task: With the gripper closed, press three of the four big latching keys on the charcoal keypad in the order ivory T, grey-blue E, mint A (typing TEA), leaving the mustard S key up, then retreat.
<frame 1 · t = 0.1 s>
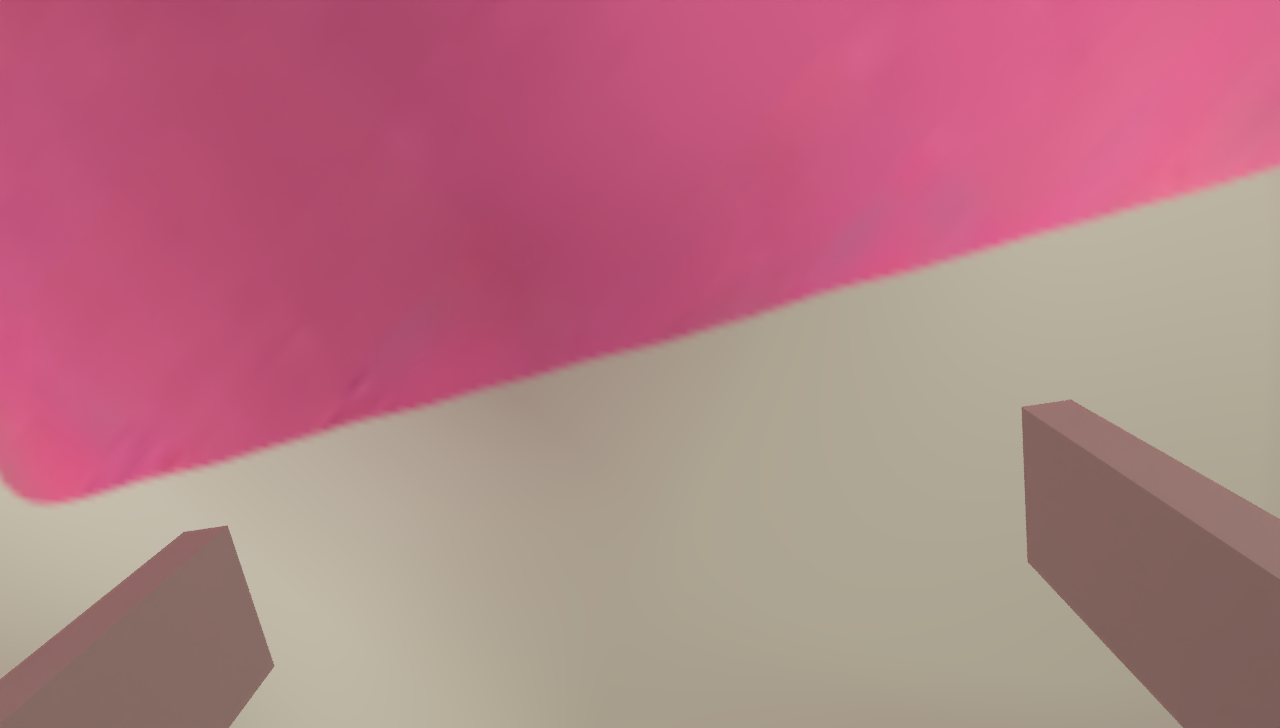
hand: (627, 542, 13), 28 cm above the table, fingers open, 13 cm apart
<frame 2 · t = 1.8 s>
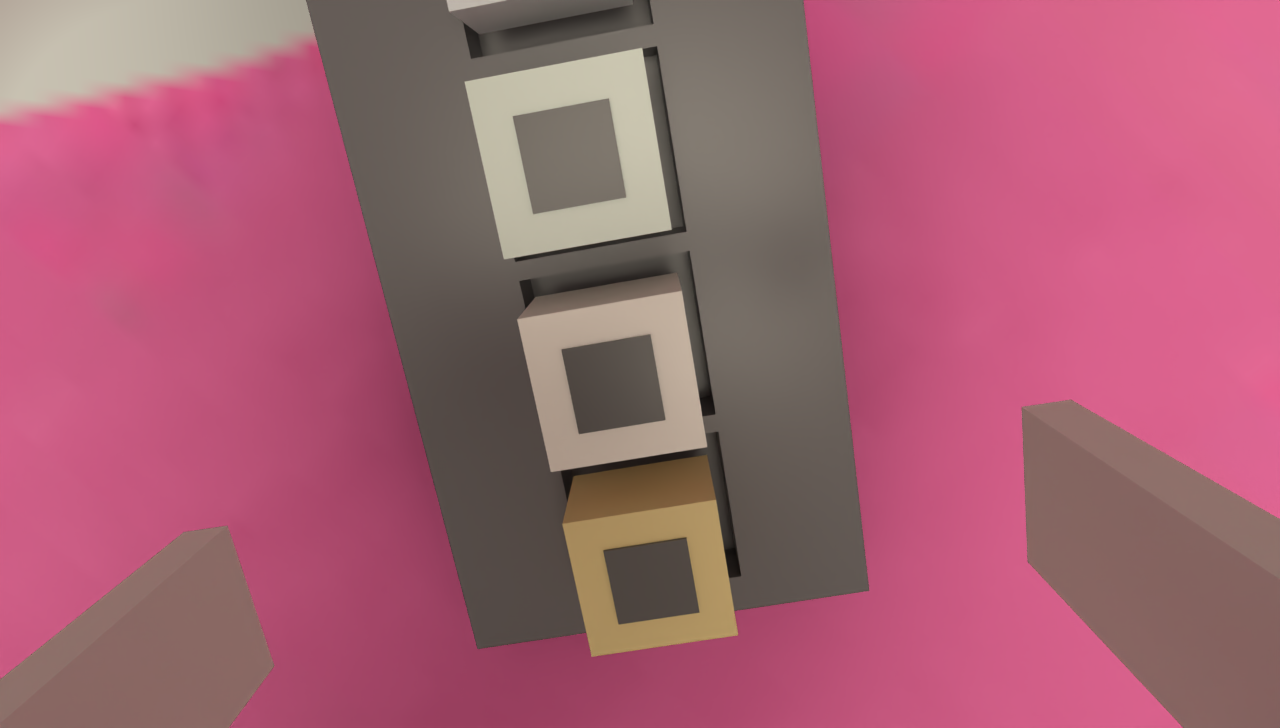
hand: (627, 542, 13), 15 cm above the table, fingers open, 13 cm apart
key S: (651, 552, 24), point 5 cm above the table, slide at 0.0 cm
keypad: (606, 247, 26), on the table
key A: (576, 157, 21), point 5 cm above the table, slide at 0.0 cm
key T: (616, 368, 22), point 5 cm above the table, slide at 0.0 cm
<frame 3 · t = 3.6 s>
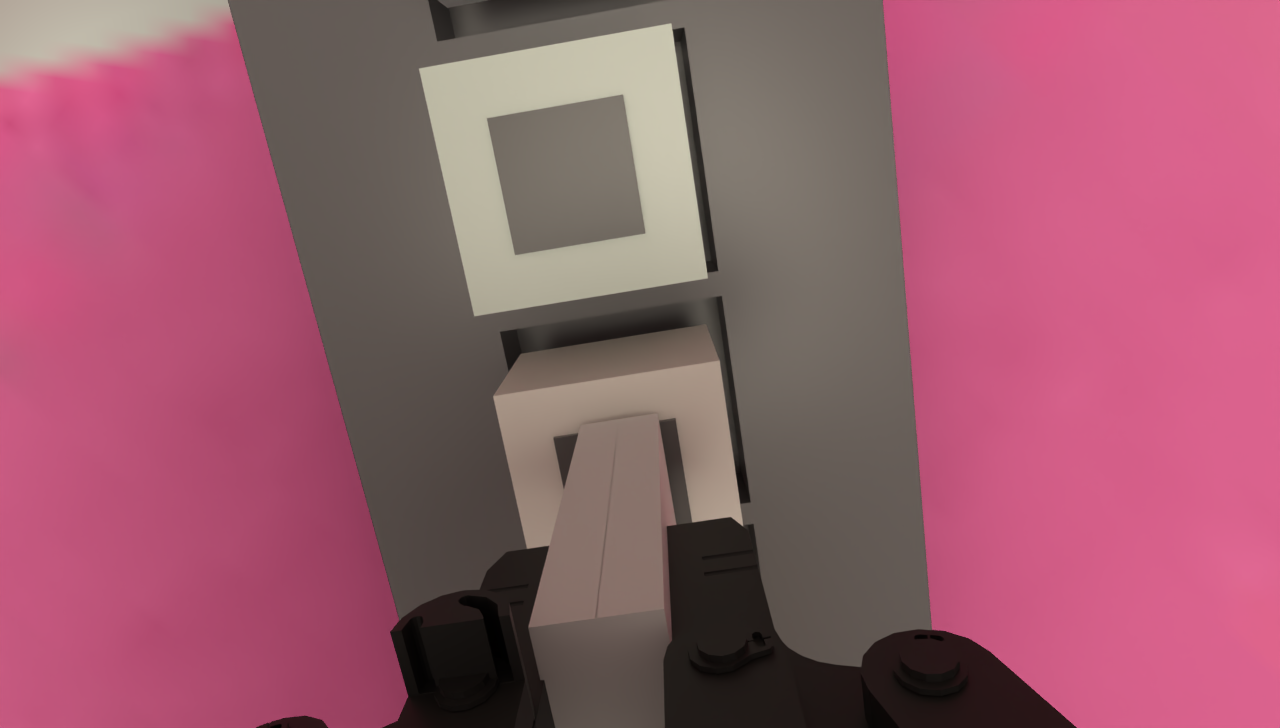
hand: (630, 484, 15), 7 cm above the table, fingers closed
keypad: (612, 285, 21), on the table
key A: (576, 175, 15), point 5 cm above the table, slide at 0.0 cm
key T: (626, 453, 17), point 5 cm above the table, slide at 0.1 cm, touching gripper
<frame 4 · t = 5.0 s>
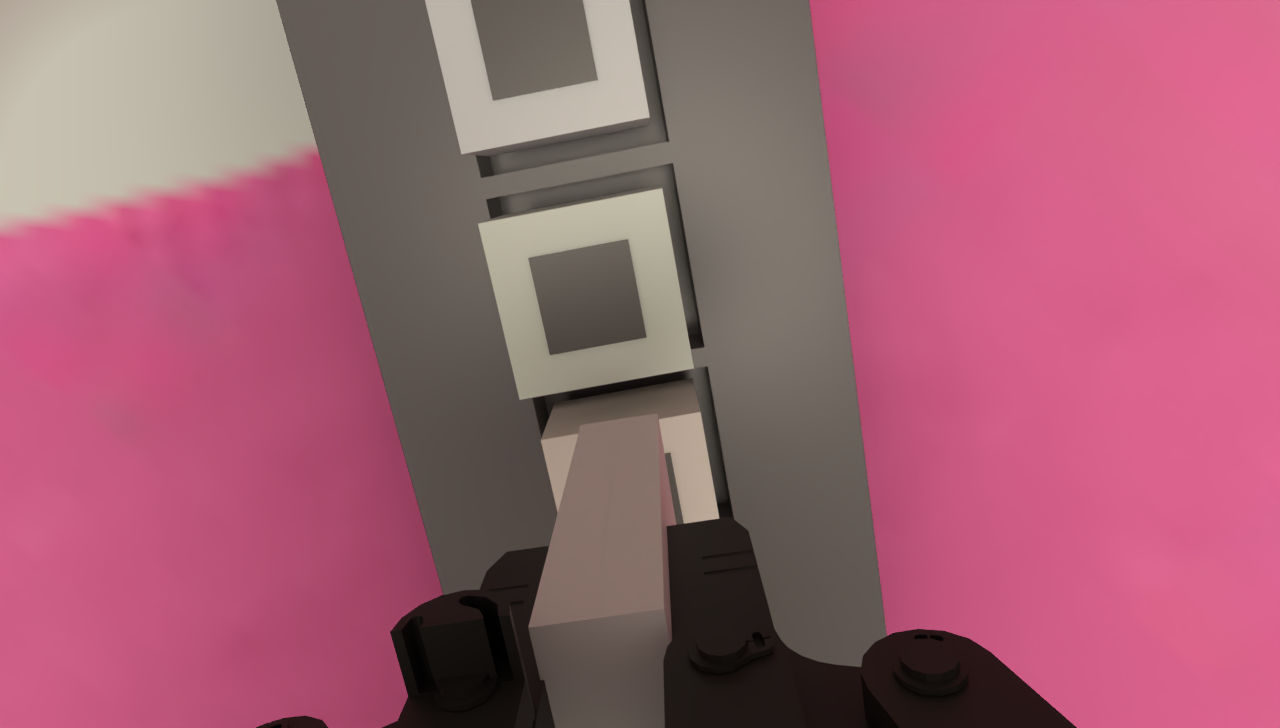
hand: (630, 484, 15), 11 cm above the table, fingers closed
key E: (543, 45, 19), point 5 cm above the table, slide at 0.0 cm
keypad: (619, 353, 25), on the table
key A: (592, 287, 20), point 5 cm above the table, slide at 0.0 cm
key T: (635, 476, 23), point 3 cm above the table, slide at 1.4 cm
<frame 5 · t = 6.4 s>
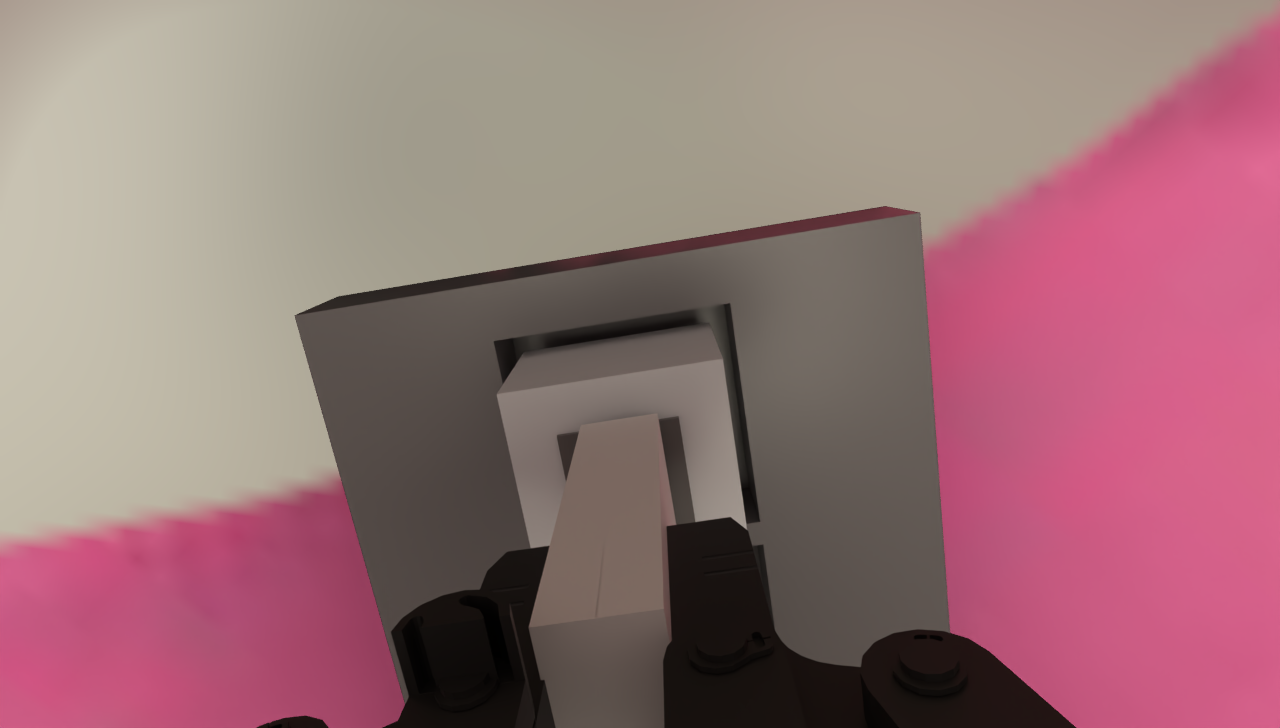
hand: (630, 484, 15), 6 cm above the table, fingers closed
key E: (629, 451, 17), point 4 cm above the table, slide at 1.3 cm, touching gripper
keypad: (683, 689, 23), on the table
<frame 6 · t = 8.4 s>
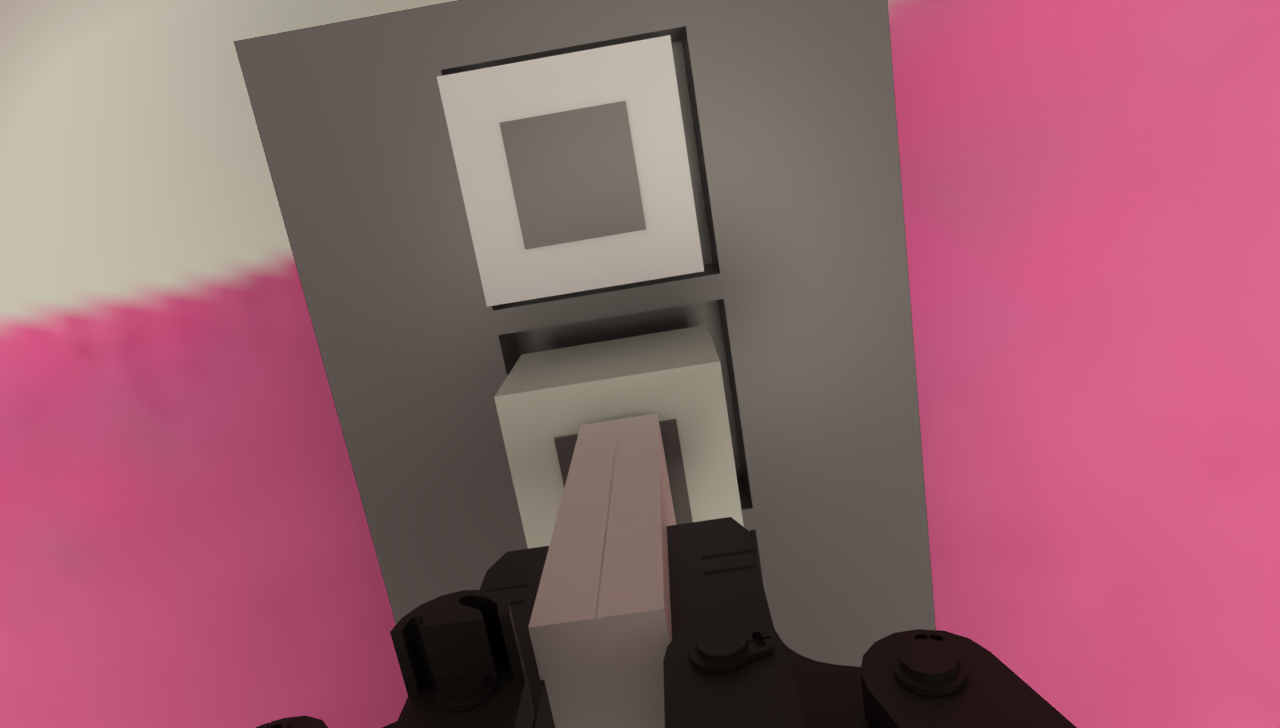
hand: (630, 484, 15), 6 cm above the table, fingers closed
key E: (581, 175, 16), point 3 cm above the table, slide at 1.4 cm
keypad: (648, 493, 22), on the table
key A: (627, 453, 17), point 4 cm above the table, slide at 0.4 cm, touching gripper
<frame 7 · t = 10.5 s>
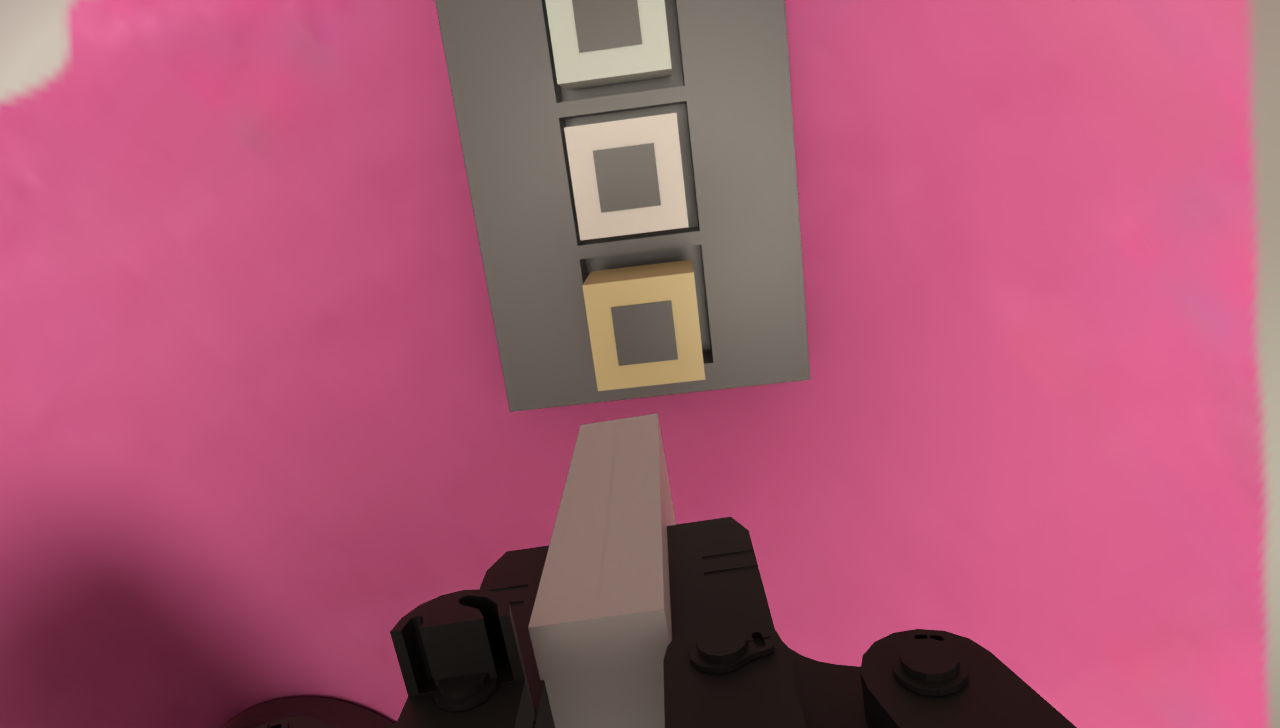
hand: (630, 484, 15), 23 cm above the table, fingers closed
key S: (645, 323, 32), point 5 cm above the table, slide at 0.0 cm
keypad: (624, 104, 34), on the table
key A: (609, 20, 30), point 3 cm above the table, slide at 1.4 cm
key T: (629, 176, 32), point 3 cm above the table, slide at 1.4 cm
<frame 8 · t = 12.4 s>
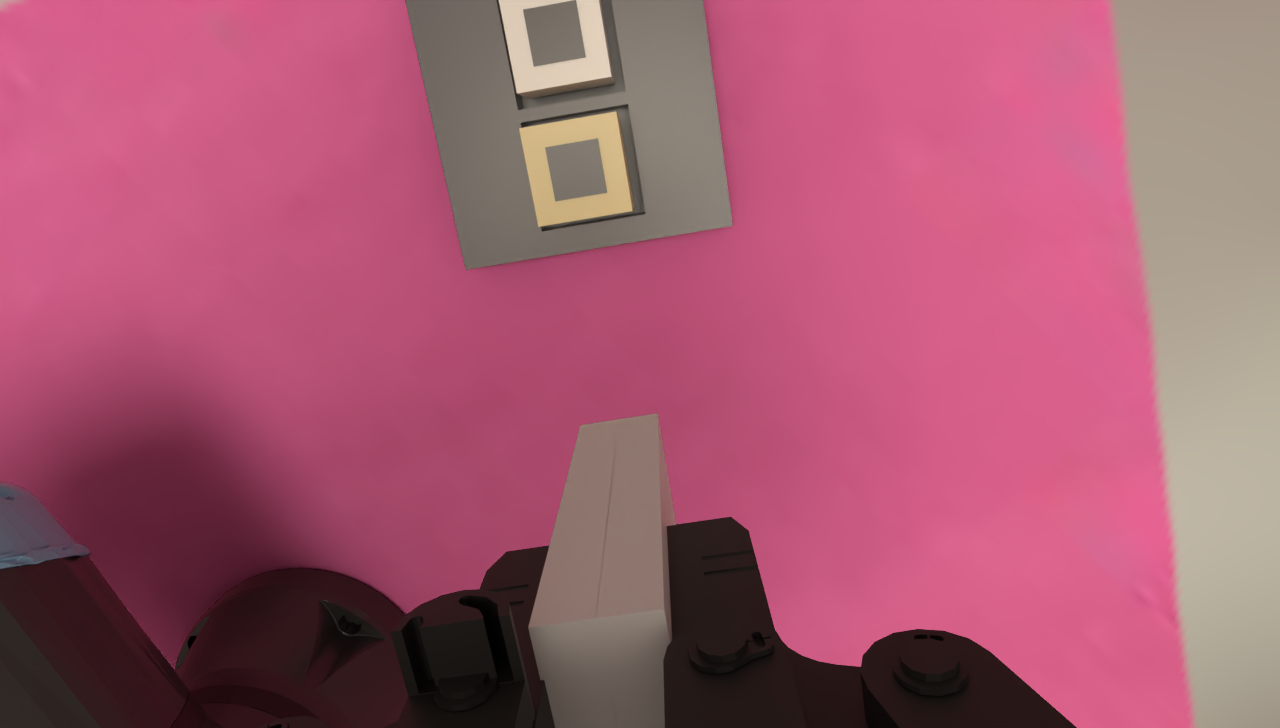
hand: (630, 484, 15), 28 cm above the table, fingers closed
key S: (579, 169, 36), point 5 cm above the table, slide at 0.0 cm
key T: (559, 39, 36), point 3 cm above the table, slide at 1.4 cm
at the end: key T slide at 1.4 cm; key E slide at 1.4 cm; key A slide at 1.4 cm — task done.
